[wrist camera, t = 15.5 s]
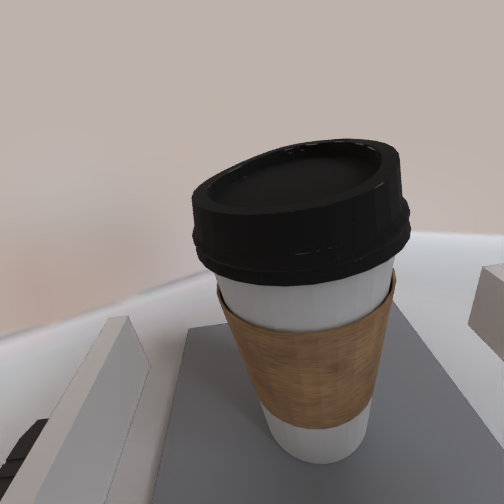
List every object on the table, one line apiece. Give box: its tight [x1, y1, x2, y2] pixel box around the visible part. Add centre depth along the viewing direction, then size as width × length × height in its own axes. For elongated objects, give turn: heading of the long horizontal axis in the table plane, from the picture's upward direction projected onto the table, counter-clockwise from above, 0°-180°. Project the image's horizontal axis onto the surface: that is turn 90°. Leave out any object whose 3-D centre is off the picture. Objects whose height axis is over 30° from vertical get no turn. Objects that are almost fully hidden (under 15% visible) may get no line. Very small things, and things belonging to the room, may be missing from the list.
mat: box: [151, 300, 504, 504], centre depth 18 cm, size 18×18×1 cm
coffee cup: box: [192, 139, 411, 464], centre depth 15 cm, size 8×8×15 cm
